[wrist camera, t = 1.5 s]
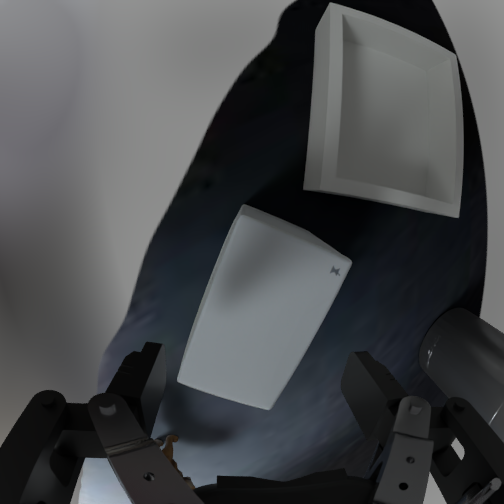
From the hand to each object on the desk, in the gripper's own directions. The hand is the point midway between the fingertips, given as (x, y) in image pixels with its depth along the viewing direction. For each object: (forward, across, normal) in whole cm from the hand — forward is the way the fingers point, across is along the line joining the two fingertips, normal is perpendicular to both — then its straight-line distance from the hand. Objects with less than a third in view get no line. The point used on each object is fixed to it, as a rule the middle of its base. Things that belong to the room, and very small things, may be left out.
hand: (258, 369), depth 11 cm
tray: (+13, -11, -16) cm, 23 cm away
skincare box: (+14, 0, 0) cm, 14 cm away
